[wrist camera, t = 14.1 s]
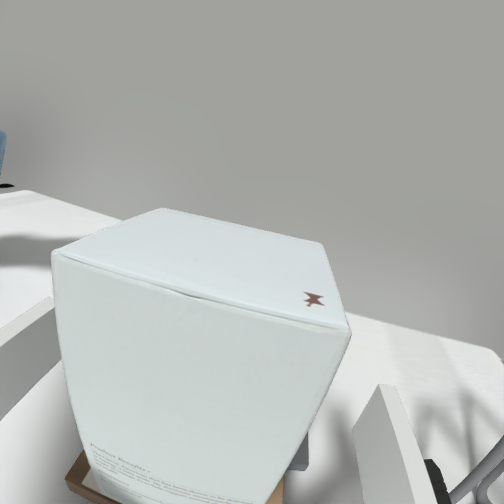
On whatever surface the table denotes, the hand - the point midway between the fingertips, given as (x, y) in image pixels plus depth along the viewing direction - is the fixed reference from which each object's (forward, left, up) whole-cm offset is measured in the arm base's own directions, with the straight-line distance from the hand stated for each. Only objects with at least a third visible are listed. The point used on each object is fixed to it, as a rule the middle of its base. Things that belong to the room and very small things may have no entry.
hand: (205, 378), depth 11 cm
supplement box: (0, 0, -7) cm, 8 cm away
